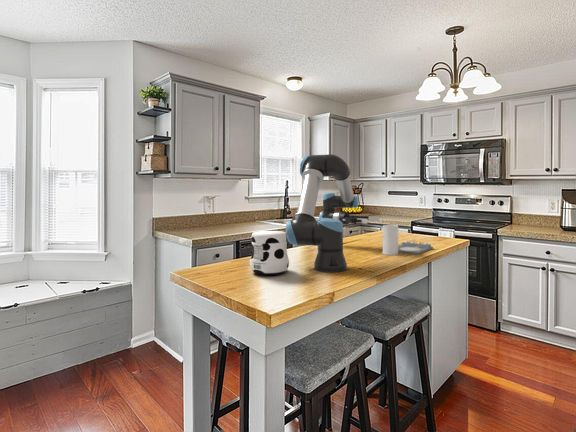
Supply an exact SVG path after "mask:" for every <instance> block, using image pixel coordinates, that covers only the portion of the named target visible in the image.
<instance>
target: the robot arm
mask: <svg viewBox="0 0 576 432" xmlns="http://www.w3.org/2000/svg"><path fill="white" fill-rule="evenodd" d="M299 174H300V176H301V177H302V179H303V180H302V181H303V183H302V186H301V192H300V197H299V202H298V205H297V210H296V213H295V214H293V216H292V219H289V220H287V221H286V224H285V232H286V240H287V241H288V243H289V244H291V245H295V246H313V247H315V246H317V254H316V257H315V260H314V263H313V265H314V266H313V269H314V270H315V271H318V272H323V273H340V272H344V271H346V270H347V269H348V263H347V261H346V257H345V254H344V227H343V226H346V225H348V224H349V223H351V224H353V225H357V224H365V225H367V224H368V222H380V217H379V216H373V215H370V214H368V215H350V213H349V212H346V211H345V212H342V211H336V209H339V208H341V209H342V208H343V209H354V208H356V209H357V208H359V196H358V195H354V191H353V187H352V183H351V177H350V175H351V170H350V167H349V165H348V163H347V162H346V161H345V160H344V159H343V158H342V157H340V156H338V155H336V154H333V153H332V154H310V155H309V154H308V155H304V156H303V157H302V158H301V161H300V163H299ZM326 177H333V179H334V180H335V181H336V184H337V188H338V191H339V195H336V194H335V193H334V192H323V195H322V211H320V213H319V216H318V218H317V220H316V218H315V214H316V213H315V211H316V206H317V200H318V195H319V189H320V184H321V183H322V182H323V181H324V178H326Z"/></svg>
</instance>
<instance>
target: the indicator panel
mask: <svg viewBox="0 0 576 432" xmlns="http://www.w3.org/2000/svg"><path fill="white" fill-rule="evenodd" d="M433 249H434V246H432V245H431V243H428V242H424V243H422V242H420V241H418V242H415V241H414V240H413V241H410V242H409V241H408V240H405V241H403V242H401V244H398V254H399V253H400V254H407V255H415V256H416V255H417V256H419V255H420V254H423V253H425V252H428V251H430V250H433Z"/></svg>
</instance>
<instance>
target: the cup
mask: <svg viewBox="0 0 576 432" xmlns="http://www.w3.org/2000/svg"><path fill="white" fill-rule="evenodd" d="M398 246H399V225H397V224H383V225H382V254H383V255H386V256H397V255H399V253H398Z"/></svg>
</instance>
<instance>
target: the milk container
mask: <svg viewBox="0 0 576 432" xmlns="http://www.w3.org/2000/svg"><path fill="white" fill-rule="evenodd" d="M287 243H288V242H287V234H286V231H282V230H280V231H279V230H260V231H254V232H252V234H251V256H250V260H249V264H250V266H249V267H250V270H251V272H253V273H254V274H257V275H261V276H262V275H263V276H271V275H272V276H276V275H280V274H283V273H285V272H287V271H288V269H289V266H290V259H289V255H288V250H287V249H288V248H287Z"/></svg>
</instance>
